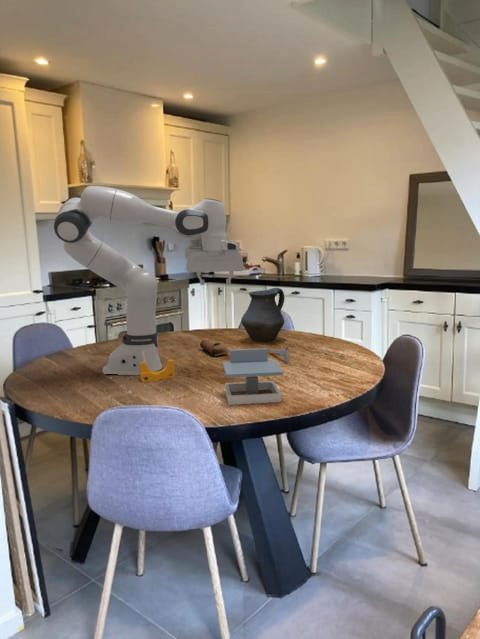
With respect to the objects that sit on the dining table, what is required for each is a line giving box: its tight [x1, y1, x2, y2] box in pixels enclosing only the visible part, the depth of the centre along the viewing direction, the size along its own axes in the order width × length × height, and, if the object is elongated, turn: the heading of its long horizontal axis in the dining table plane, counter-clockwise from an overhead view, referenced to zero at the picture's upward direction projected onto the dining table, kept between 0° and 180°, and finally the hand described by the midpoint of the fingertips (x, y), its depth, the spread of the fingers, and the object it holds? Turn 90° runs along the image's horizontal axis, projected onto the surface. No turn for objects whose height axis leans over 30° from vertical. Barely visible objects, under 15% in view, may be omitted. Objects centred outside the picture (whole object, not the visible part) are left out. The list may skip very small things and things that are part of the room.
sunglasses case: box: [199, 339, 230, 357], centre depth 225 cm, size 18×7×7 cm
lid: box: [222, 347, 284, 379], centre depth 161 cm, size 17×15×5 cm
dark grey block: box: [245, 376, 259, 395], centre depth 162 cm, size 4×4×7 cm
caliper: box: [268, 346, 290, 364], centre depth 211 cm, size 20×1×6 cm, turn 17°
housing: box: [224, 380, 282, 406], centre depth 162 cm, size 16×14×3 cm
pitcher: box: [240, 287, 285, 343], centre depth 245 cm, size 21×22×25 cm
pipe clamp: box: [139, 358, 176, 383], centre depth 184 cm, size 12×4×6 cm, turn 107°
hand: (215, 284), depth 185 cm, fingers open, 8 cm apart
